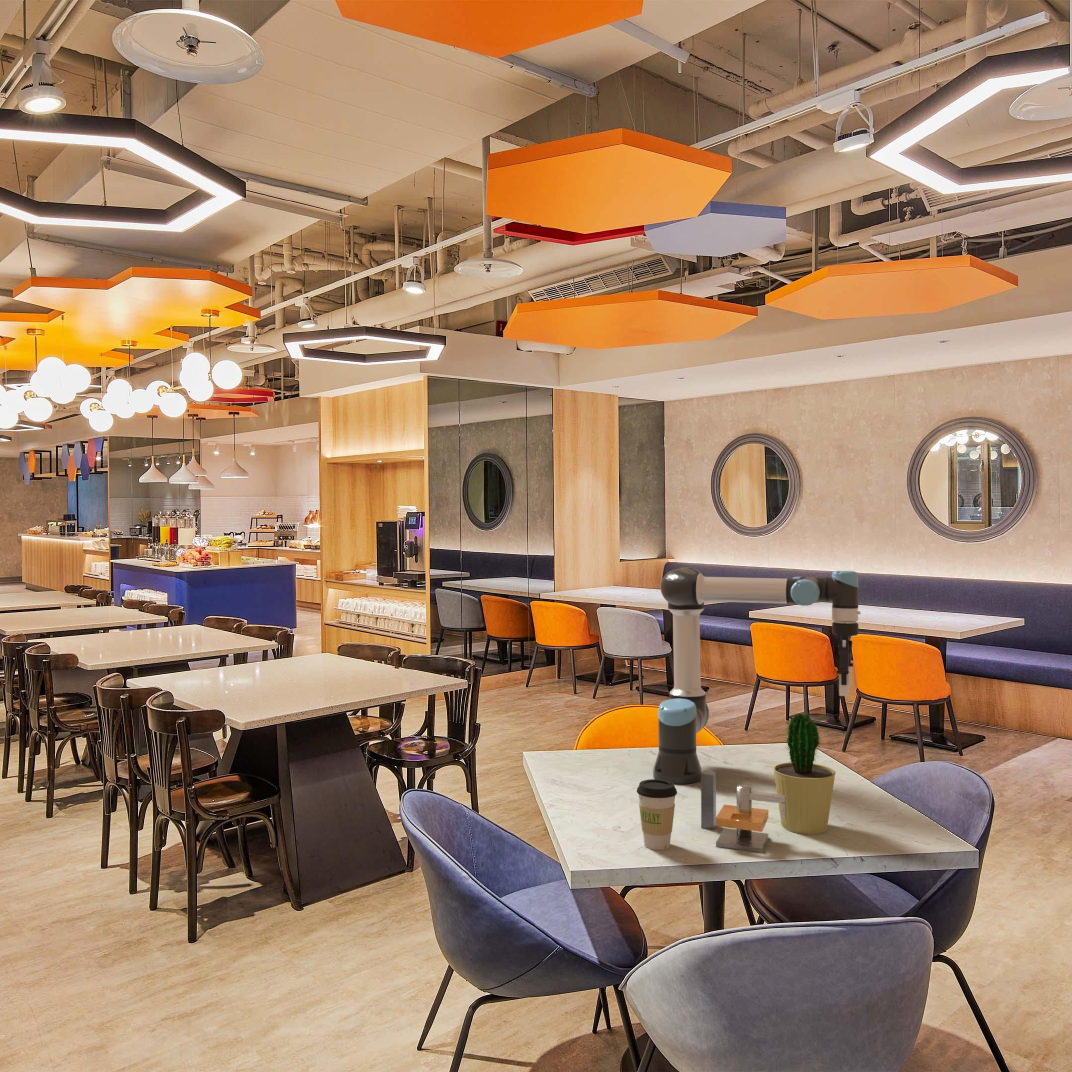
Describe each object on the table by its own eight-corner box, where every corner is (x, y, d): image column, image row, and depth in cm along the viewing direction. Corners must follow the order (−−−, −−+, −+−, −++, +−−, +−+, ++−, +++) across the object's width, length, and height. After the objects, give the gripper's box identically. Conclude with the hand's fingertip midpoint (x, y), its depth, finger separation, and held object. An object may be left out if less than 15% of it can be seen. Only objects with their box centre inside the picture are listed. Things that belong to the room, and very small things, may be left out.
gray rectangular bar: (701, 827, 224) (701, 773, 223) (703, 823, 227) (703, 770, 226) (713, 829, 222) (713, 775, 222) (716, 825, 225) (715, 771, 225)
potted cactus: (827, 841, 213) (827, 720, 213) (765, 830, 221) (765, 713, 221) (841, 823, 226) (841, 709, 226) (783, 813, 234) (782, 703, 234)
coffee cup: (633, 838, 216) (633, 778, 216) (671, 837, 217) (671, 777, 217) (641, 853, 206) (641, 790, 206) (681, 852, 207) (681, 789, 207)
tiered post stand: (715, 846, 210) (715, 793, 210) (724, 831, 220) (724, 781, 220) (781, 855, 204) (781, 800, 204) (787, 840, 214) (786, 787, 214)
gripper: (856, 626, 249) (856, 700, 249) (859, 618, 272) (859, 685, 272) (829, 625, 251) (829, 698, 252) (834, 617, 275) (834, 684, 275)
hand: (845, 691), depth 262 cm, fingers open, 13 cm apart
